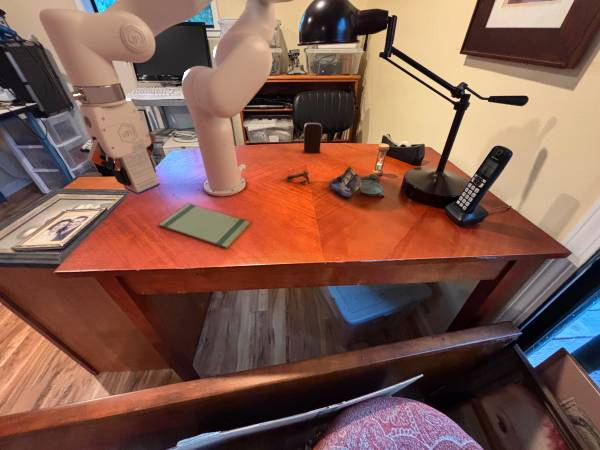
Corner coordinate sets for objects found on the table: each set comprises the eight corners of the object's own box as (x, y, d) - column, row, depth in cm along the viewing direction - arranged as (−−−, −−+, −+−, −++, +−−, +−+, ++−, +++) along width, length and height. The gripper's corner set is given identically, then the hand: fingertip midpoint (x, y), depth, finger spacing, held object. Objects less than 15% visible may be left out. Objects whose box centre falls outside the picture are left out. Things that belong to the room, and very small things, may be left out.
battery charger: (319, 149, 100) (321, 121, 93) (320, 153, 97) (322, 124, 90) (303, 149, 100) (303, 121, 93) (303, 153, 97) (304, 123, 90)
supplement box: (161, 184, 60) (143, 139, 53) (138, 195, 56) (115, 147, 49) (147, 178, 62) (128, 134, 55) (124, 188, 58) (100, 141, 51)
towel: (188, 205, 67) (187, 203, 66) (250, 223, 61) (249, 221, 61) (159, 226, 60) (158, 223, 59) (226, 248, 54) (225, 246, 53)
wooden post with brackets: (311, 184, 75) (306, 171, 73) (290, 188, 80) (285, 176, 78) (313, 182, 77) (309, 168, 75) (293, 185, 81) (288, 173, 79)
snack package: (374, 196, 73) (356, 177, 81) (376, 178, 68) (357, 160, 77) (338, 207, 71) (323, 187, 79) (337, 190, 67) (322, 170, 75)
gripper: (65, 106, 39) (116, 199, 50) (153, 89, 52) (177, 166, 63) (37, 101, 41) (92, 191, 53) (128, 86, 54) (156, 161, 65)
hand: (138, 177), depth 58 cm, fingers closed on supplement box, 6 cm apart
